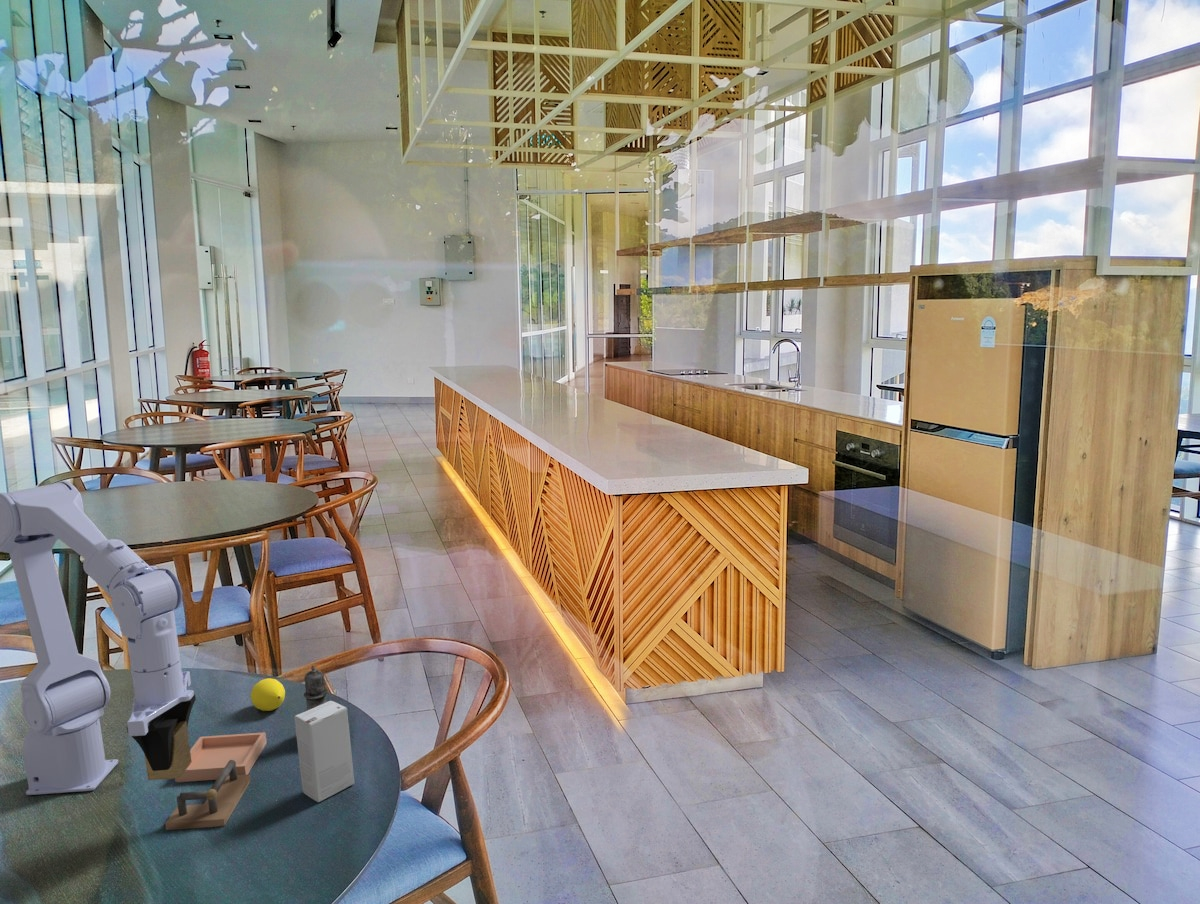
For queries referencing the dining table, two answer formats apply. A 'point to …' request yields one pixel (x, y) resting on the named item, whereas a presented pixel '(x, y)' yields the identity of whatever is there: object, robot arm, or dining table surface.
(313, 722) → the skincare box
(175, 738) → the hollow wooden box
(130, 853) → the dining table surface
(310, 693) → the dark grey chess piece
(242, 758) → the dish
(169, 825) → the bent wire
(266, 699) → the lemon
